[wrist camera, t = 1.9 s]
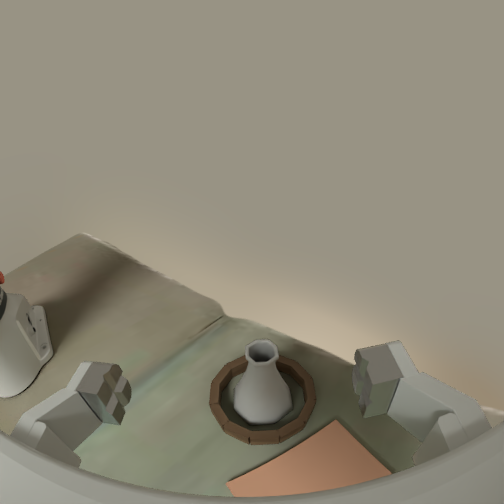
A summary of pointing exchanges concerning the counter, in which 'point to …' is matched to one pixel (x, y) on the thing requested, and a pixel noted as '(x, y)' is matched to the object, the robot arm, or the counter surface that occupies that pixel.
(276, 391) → the flask
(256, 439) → the ring holder
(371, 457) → the terracotta pad
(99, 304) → the counter surface
